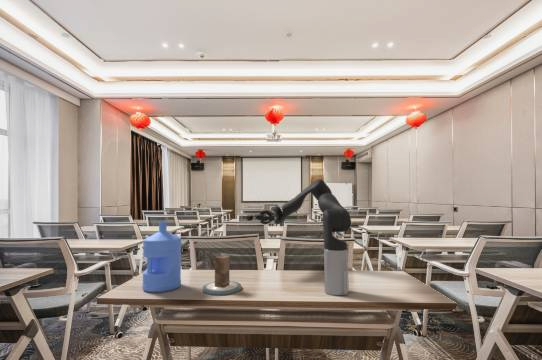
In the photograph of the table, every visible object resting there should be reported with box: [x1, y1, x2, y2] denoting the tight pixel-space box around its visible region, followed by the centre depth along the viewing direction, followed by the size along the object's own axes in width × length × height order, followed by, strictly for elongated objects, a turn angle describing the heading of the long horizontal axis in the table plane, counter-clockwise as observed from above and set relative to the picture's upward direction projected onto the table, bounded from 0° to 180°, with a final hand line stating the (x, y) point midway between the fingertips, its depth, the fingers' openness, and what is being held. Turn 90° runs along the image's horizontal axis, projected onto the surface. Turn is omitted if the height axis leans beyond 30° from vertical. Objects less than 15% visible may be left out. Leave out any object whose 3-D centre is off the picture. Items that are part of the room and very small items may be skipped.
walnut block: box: [214, 255, 230, 288], centre depth 126 cm, size 4×4×12 cm
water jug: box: [141, 221, 182, 293], centre depth 129 cm, size 16×16×28 cm
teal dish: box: [202, 280, 242, 296], centre depth 126 cm, size 16×16×1 cm
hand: (256, 218), depth 147 cm, fingers open, 8 cm apart
